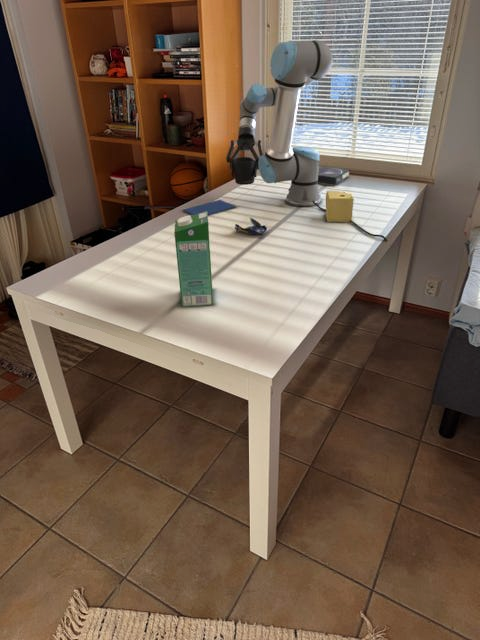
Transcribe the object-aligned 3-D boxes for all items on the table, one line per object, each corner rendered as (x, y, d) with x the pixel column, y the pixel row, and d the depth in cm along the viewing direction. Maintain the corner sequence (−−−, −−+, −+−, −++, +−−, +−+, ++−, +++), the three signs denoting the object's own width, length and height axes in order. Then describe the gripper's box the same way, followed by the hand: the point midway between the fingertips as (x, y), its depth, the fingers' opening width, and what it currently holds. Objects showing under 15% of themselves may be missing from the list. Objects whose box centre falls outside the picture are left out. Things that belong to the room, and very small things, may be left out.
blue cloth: (235, 207, 208) (235, 206, 207) (198, 218, 197) (198, 216, 197) (219, 201, 216) (219, 199, 215) (183, 210, 205) (183, 209, 205)
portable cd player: (336, 185, 232) (336, 177, 230) (304, 181, 240) (305, 173, 238) (348, 177, 243) (349, 169, 241) (318, 173, 251) (319, 166, 249)
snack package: (249, 225, 189) (229, 233, 182) (251, 210, 185) (231, 217, 178) (272, 237, 183) (252, 245, 176) (274, 222, 179) (254, 230, 172)
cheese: (349, 213, 197) (351, 190, 192) (352, 222, 188) (354, 198, 183) (324, 213, 198) (326, 190, 193) (325, 222, 189) (327, 198, 184)
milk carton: (182, 291, 142) (174, 212, 129) (212, 290, 143) (207, 210, 130) (181, 306, 135) (173, 223, 121) (213, 304, 135) (208, 222, 122)
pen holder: (231, 184, 210) (230, 161, 205) (238, 178, 218) (238, 156, 212) (251, 185, 207) (250, 162, 202) (257, 180, 215) (257, 157, 209)
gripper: (271, 135, 215) (269, 180, 210) (224, 136, 218) (220, 179, 213) (270, 125, 208) (268, 171, 203) (221, 126, 210) (218, 170, 205)
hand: (243, 175), depth 208 cm, fingers closed on pen holder, 9 cm apart
